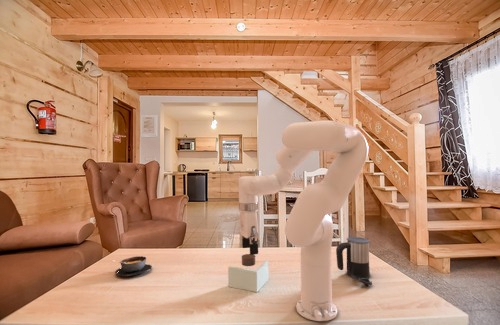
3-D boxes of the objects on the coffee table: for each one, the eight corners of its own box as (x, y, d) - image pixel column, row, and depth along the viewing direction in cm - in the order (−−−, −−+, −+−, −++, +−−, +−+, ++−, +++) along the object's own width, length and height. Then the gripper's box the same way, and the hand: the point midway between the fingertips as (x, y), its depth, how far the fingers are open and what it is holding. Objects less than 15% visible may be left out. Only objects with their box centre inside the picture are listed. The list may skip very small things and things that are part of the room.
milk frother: (358, 269, 118) (358, 235, 118) (389, 283, 103) (388, 245, 103) (333, 274, 112) (332, 239, 112) (361, 290, 98) (360, 249, 98)
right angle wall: (268, 279, 108) (268, 261, 108) (257, 292, 97) (256, 271, 97) (242, 274, 113) (242, 257, 113) (228, 286, 102) (228, 266, 102)
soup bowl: (152, 275, 113) (152, 258, 113) (110, 282, 107) (110, 263, 107) (151, 264, 127) (151, 248, 127) (114, 269, 121) (114, 252, 121)
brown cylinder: (255, 266, 102) (255, 258, 102) (241, 266, 103) (241, 258, 103) (255, 261, 108) (255, 253, 108) (242, 261, 108) (242, 254, 108)
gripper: (233, 205, 112) (235, 246, 112) (246, 210, 96) (247, 258, 95) (250, 204, 115) (251, 244, 114) (265, 209, 98) (267, 255, 98)
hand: (250, 250), depth 105 cm, fingers open, 9 cm apart
